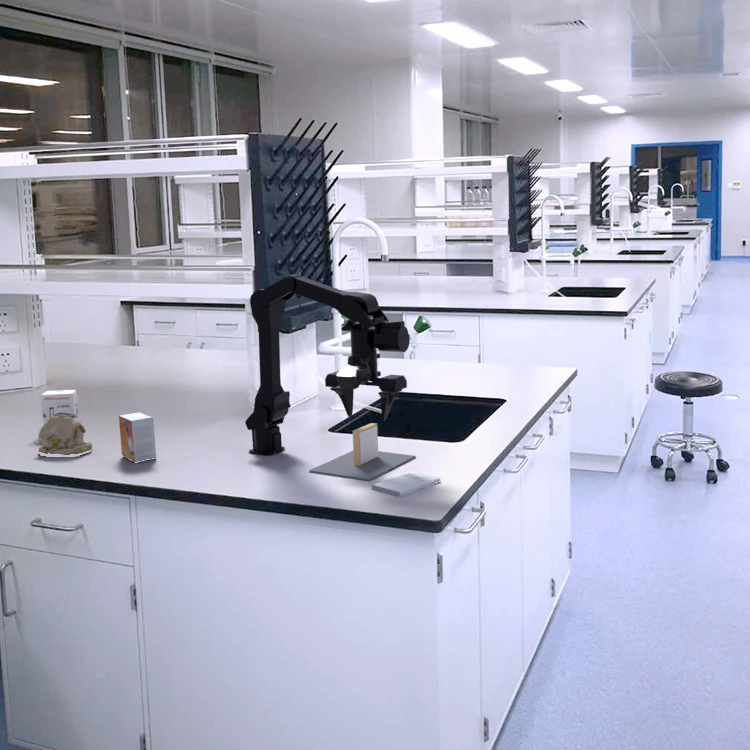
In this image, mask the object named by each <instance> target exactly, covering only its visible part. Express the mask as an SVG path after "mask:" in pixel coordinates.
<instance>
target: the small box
mask: <svg viewBox="0 0 750 750" xmlns="http://www.w3.org/2000/svg"><path fill="white" fill-rule="evenodd" d="M118 423H119V434H120V448H121V456H122V455H123V456H125V457H127V458H129V459H131V460H132V461H134V462H137V461H142V460H146V459H152V458H156V459H157V450H156V436H155V425H154V417H153V416H149V415H147V414H145V413H142V412H140V411H139V412H134V413H127V414H121V415H119V416H118ZM132 461H131V462H132Z"/></svg>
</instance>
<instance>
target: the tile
mask: <svg viewBox="0 0 750 750" xmlns="http://www.w3.org/2000/svg"><path fill="white" fill-rule="evenodd" d="M378 435H379V434H378V423H375V422H374V423H373V422H371V423H368V424H366V425H364V426H361V427H359V428H358V427H357V428H356V429H354V430H352V448H353V450H352V451H354V465H356V466H361V465H363V464H365V463H367V462H369V461H371V460H373V459H375V458H377V457H378V451H379V439H378V438H379V437H378Z"/></svg>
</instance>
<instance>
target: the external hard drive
mask: <svg viewBox="0 0 750 750" xmlns="http://www.w3.org/2000/svg"><path fill="white" fill-rule="evenodd" d="M439 481H440V482H441V478H440V477H438V476H434V475H430V474H427V473H426V474H425V473H422V472H418V471H413V470H412V471H410V472H407V473H403V474H400V475H398V476H397V475H396V476H395V477H391V478H389V479H386V480H383V481H380V482H377V483H374V484H372V485H371V490H374V491H377V492H380V493H381V492H382V493H385V494H388V495H392V496H396V497H399V496H400V497H404V496H407V495H409V494H411V492H412V493H415V492H417V491H416V490H418V491H419V489H420V490H422V489H421V488H423V489H425V488H424V487H426V488H428V487H427V486H429V485H431V486H433V485H432V484H434V483H436V482H439ZM440 482H439V483H440ZM434 485H435V484H434ZM429 487H430V486H429ZM414 491H415V492H414ZM406 494H407V495H406ZM403 495H404V496H403Z"/></svg>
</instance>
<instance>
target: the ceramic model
mask: <svg viewBox="0 0 750 750" xmlns="http://www.w3.org/2000/svg"><path fill="white" fill-rule="evenodd" d="M86 430H87V429H86V428H85V426H84V425H82V423H81V422H80V421H79V422H78V421H76V420H75V419H74V418H71V417H65V414H59V415H58V417H57V416H54V417H51V418H49V420H48V422H47V423H46V424H45V425H44V424H43V426H42V427H41V428H40V430H39V432H38V436H37V439H39V440H41V444H42V446H40V447H39V448H38V451H39V452H42V453H45V454H48V453H50V454H61V455H62V454H63V455H70V454H79V453H83V452H86V451H89V450H91V449H92V450H93V444H92V442H84V433H86V432H87V431H86Z"/></svg>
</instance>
